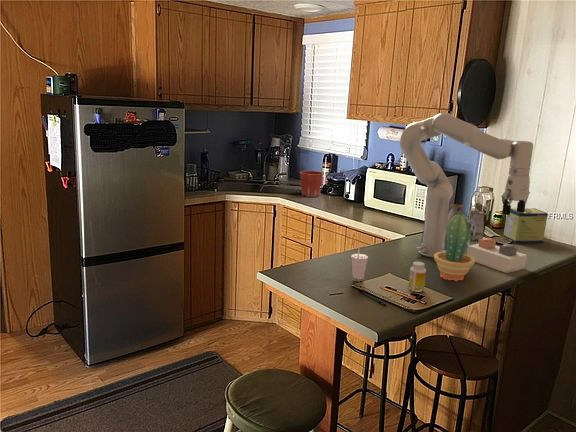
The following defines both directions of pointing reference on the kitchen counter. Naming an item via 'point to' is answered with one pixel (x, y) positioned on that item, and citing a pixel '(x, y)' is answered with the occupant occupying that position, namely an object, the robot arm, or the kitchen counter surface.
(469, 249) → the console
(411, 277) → the supplement bottle
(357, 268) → the smoothie
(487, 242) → the terracotta button
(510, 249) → the charcoal button
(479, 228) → the coffee box
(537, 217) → the protein box
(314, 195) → the flower pot
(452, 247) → the potted cactus
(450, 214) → the coffee pot
